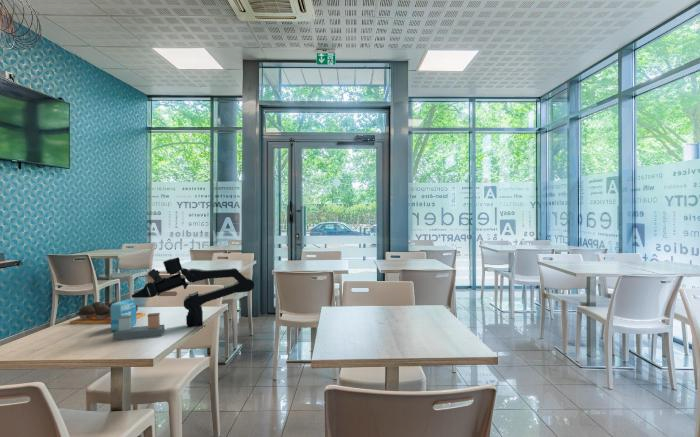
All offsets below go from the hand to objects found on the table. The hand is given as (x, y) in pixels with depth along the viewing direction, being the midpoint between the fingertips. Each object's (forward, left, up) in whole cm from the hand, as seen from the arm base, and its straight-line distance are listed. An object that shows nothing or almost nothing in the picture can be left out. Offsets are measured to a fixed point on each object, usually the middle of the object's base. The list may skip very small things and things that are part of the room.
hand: (133, 296), depth 184 cm
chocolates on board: (+18, -31, -16) cm, 39 cm away
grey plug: (+2, +8, -16) cm, 18 cm away
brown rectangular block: (-9, +8, -16) cm, 20 cm away
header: (-4, +8, -16) cm, 18 cm away
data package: (+6, -9, -16) cm, 19 cm away
